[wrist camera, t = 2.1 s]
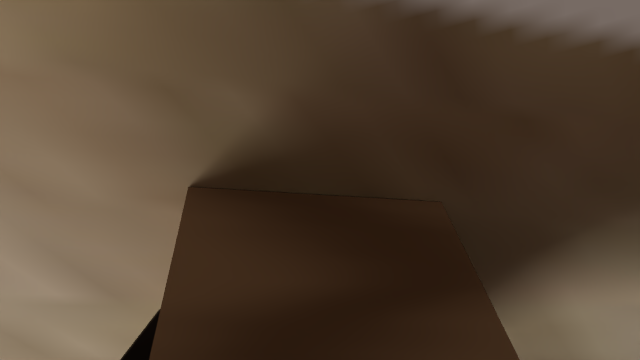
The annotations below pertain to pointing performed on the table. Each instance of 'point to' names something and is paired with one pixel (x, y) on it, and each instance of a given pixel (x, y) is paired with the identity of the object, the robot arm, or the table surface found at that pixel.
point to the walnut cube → (322, 282)
